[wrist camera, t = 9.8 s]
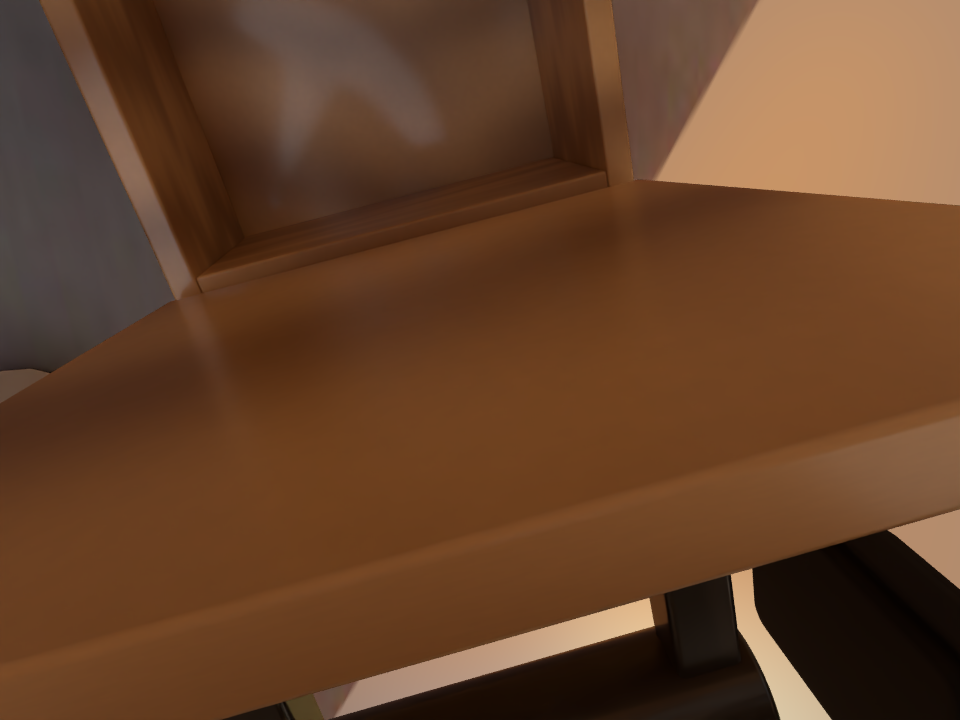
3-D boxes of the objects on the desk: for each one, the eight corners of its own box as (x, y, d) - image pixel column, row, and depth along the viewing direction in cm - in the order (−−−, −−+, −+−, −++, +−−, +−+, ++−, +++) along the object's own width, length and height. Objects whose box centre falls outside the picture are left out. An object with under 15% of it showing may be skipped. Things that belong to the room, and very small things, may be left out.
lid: (-865, 912, 3) (-265, 1291, 5) (1525, 245, 4) (1335, 797, 5) (168, 301, 17) (232, 452, 19) (639, 178, 18) (662, 336, 19)
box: (65, -173, 19) (-114, -330, 12) (498, -274, 19) (552, -479, 13) (237, 257, 25) (178, 310, 18) (571, 170, 25) (636, 190, 18)
